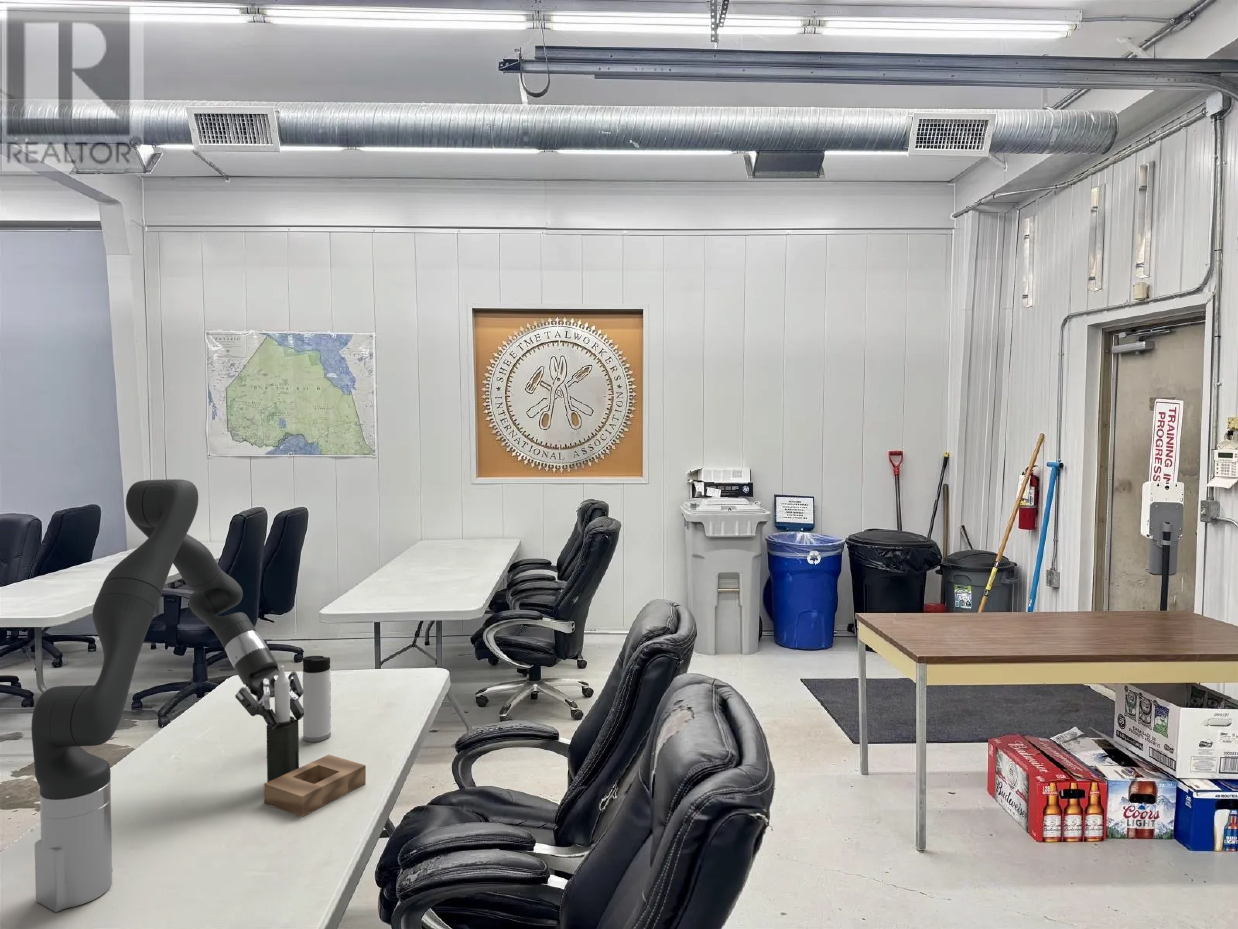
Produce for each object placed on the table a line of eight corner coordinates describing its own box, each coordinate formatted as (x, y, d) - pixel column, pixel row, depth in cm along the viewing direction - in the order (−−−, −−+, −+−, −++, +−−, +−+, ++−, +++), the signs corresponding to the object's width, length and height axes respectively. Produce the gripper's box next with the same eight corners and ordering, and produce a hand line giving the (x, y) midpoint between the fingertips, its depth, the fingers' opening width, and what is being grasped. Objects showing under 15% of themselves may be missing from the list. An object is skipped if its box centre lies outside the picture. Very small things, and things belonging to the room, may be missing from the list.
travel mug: (296, 739, 185) (295, 657, 184) (318, 730, 191) (318, 650, 190) (314, 745, 182) (313, 661, 181) (336, 735, 188) (336, 654, 187)
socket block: (302, 817, 148) (302, 796, 148) (264, 803, 153) (264, 783, 153) (365, 784, 162) (365, 765, 162) (328, 772, 167) (328, 754, 167)
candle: (286, 789, 160) (285, 670, 158) (264, 786, 161) (263, 668, 159) (301, 778, 165) (300, 662, 163) (280, 775, 166) (278, 661, 164)
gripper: (228, 655, 159) (267, 723, 153) (287, 639, 171) (325, 701, 166) (212, 676, 161) (250, 744, 156) (271, 659, 174) (308, 721, 169)
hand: (289, 722), depth 161 cm, fingers closed on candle, 5 cm apart
